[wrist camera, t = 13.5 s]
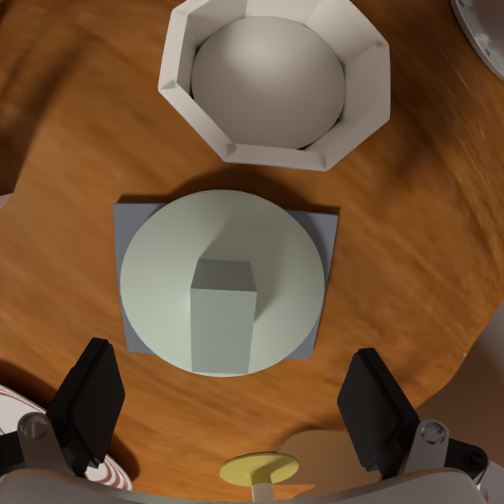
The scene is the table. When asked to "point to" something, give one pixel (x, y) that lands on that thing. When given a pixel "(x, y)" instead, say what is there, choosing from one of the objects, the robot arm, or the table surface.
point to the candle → (259, 472)
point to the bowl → (277, 78)
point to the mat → (137, 214)
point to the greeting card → (4, 199)
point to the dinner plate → (15, 406)
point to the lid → (222, 283)
